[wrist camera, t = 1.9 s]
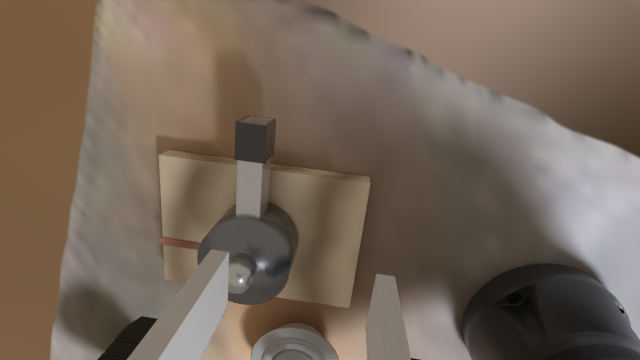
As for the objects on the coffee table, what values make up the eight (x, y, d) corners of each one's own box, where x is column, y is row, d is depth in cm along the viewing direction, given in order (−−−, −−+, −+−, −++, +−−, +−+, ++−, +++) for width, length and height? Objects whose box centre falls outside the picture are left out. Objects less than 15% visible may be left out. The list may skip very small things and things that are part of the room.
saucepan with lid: (294, 277, 35) (280, 329, 28) (218, 265, 35) (186, 314, 29) (310, 121, 30) (298, 138, 23) (220, 109, 30) (181, 123, 23)
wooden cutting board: (369, 176, 33) (370, 183, 31) (349, 296, 38) (349, 309, 36) (164, 149, 34) (153, 154, 32) (169, 268, 39) (159, 279, 37)
